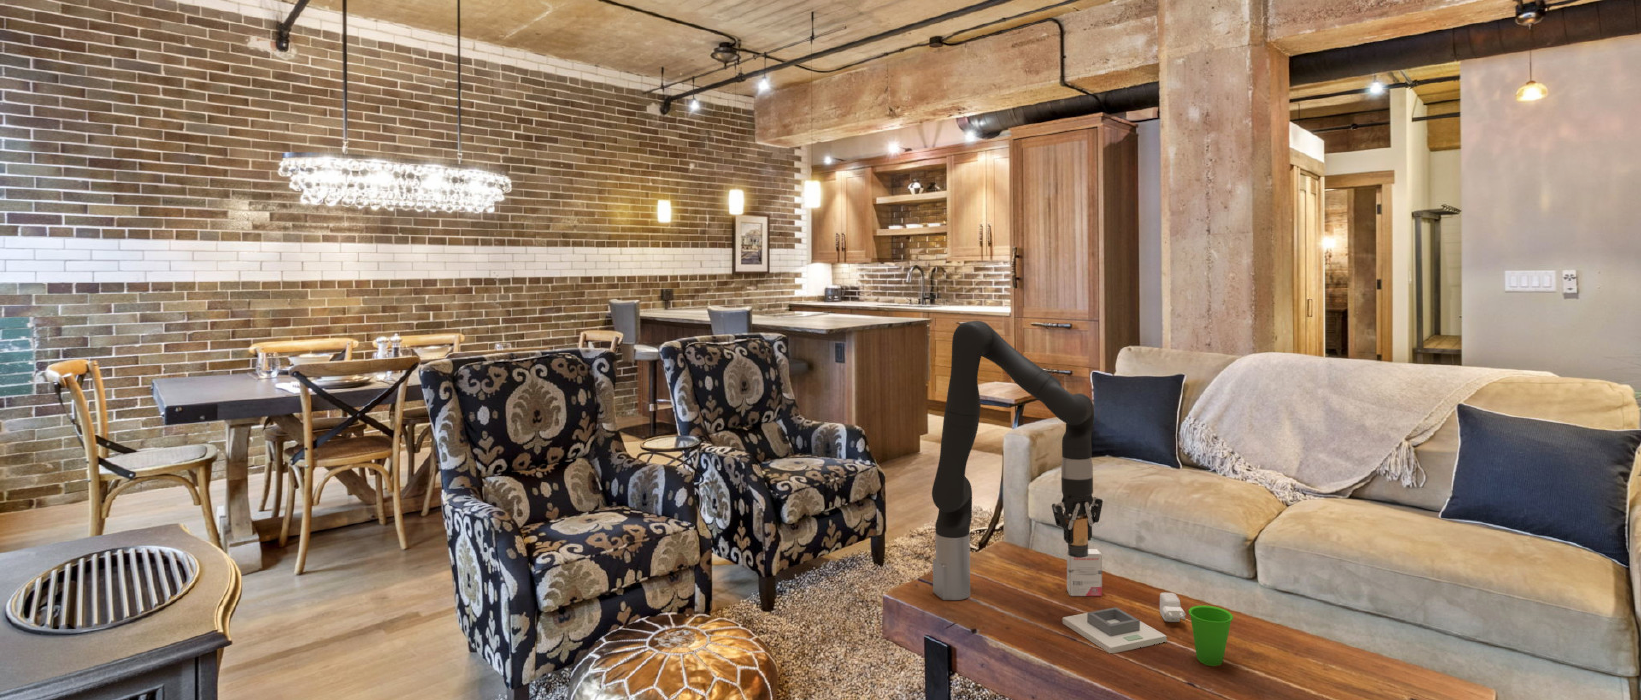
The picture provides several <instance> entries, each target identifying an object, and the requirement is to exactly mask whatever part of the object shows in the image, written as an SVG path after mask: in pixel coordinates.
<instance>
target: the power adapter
mask: <svg viewBox="0 0 1641 700" xmlns="http://www.w3.org/2000/svg"><path fill="white" fill-rule="evenodd" d="M1159 613H1160V616H1161V617H1162V619H1163V621H1165V622H1167V623H1168V622H1169V623H1179V622H1181V619H1182V620H1183V621H1186V616H1187V613H1186V612H1185V611H1184V609H1183V608H1182V607H1181V600H1180V598H1179V596H1178V595H1177V594H1176V593H1174V592H1161V593H1160V594H1159Z"/></svg>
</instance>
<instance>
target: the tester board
mask: <svg viewBox="0 0 1641 700" xmlns="http://www.w3.org/2000/svg"><path fill="white" fill-rule="evenodd" d="M1062 624H1063V625H1064V626H1066V627H1068V628H1069V629H1071V630H1072V631H1074V632H1075V633H1077V634H1078V635H1080V636H1081V637H1083V638H1085V639H1087V641H1089V642H1091V643H1093V644H1094V645H1096V646H1097V647H1099V648H1100V647H1101V649H1102V648H1103V649H1104V650H1103V649H1102V650H1103V651H1105V650H1106V651H1105V652H1107V653H1108V654H1110V653H1113V654H1116V653H1122V652H1126V651H1131V650H1135V649H1136V650H1137V649H1140V647H1141V648H1146V647H1150V646H1155V645H1159V643H1160V644H1164V643H1163V642H1165V643H1167V640H1168V638H1167V637H1168V636H1167V635H1165V634H1164V633H1163V632H1161V631H1159V630H1157V629H1155V628H1154V627H1151V626H1150V625H1148V624H1146V623H1145V622H1143V621H1141V620H1140V619H1139V618H1136V617H1135V616H1133V615H1132V614H1130V613H1127V612H1125V611H1124V610H1122V609H1120V608H1118V607H1116V606H1115V607H1110V608H1105V609H1100V610H1098V609H1097V610H1093V611H1090V612H1088V611H1087V612H1084V613H1079V614H1074V615H1068V616H1064V617H1062ZM1154 644H1155V645H1154Z"/></svg>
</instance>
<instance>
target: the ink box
mask: <svg viewBox="0 0 1641 700" xmlns="http://www.w3.org/2000/svg"><path fill="white" fill-rule="evenodd" d="M1066 590H1067V593H1068V595H1069V596H1070V597H1102V596H1103V554H1102V552H1101V551H1100V550H1099V549H1098V548H1088V556H1087V557H1082V558H1078V557H1072V556H1070V555H1068V548H1066Z"/></svg>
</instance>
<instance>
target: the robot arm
mask: <svg viewBox="0 0 1641 700" xmlns="http://www.w3.org/2000/svg"><path fill="white" fill-rule="evenodd" d="M951 342H952V343H951V363H950V364H951V365H950V366H951V367H950V377H949V383H948V388H947V396H946V402H945V405H944V406H945V408H944V414H943V422H942V423H943V424H942V431H941V438H940V440H941V441H940V452H939V453H940V454H939V459H938V466H937V469H936V473H935V477H934V481H933V484H932V489H931V497H932V501H933V504H934V506H935V507H936V508H937V509H938V514H937V519H936V521H935V526H934V528H935V529H934V533H935V558H933V559H932V590H933V591H932V593H934V594H935V596H937V597H938V598H940V599H941V600H943V601H961V600H965V599H966V600H967V598H969V597H970V596H971V538H970V536H971V535H970V533H971V529H970V528H971V523H972V518H973V516H972V515H973V489H972V485H971V482H970V481H969V479H968V478H967V477H966V469H967V464H968V460H969V456H970V455H971V454H970V453H971V452H972V449H973V447H974V443H975V440H976V437H977V433H978V430H979V429H978V428H979V424H980V423H979V422H980V416H981V396H980V390H979V385H978V383H979V382H978V381H979V380H978V375H979V369H980V365H981V359H982V357H983V359H987V360H989V361H991V362H992V363H993V364H995V365H996V366H999V368H1001V370H1003V371H1004V372H1005V373H1006V374H1007V375H1008V376H1009V377H1010V378H1011V379H1012V380H1013V381H1014V383H1015V384H1017V385H1018V386H1019V388H1021V389H1023V391H1025V392H1026V393H1028V394H1030V396H1032V397H1034V398H1035V399H1036V400H1038V401H1040V402H1041V403H1042V404H1043V405H1044V406H1045V407H1046V408H1047V409H1048V410H1049V411H1050V412H1051V414H1053V415H1055V416H1056V418H1057V419H1059V420H1060V421H1061V422H1063V423H1064V424H1065V432H1064V434H1063V436H1062V440H1061V466H1060V467H1061V470H1060V471H1061V472H1060V473H1061V478H1060V479H1061V482H1060V483H1061V493H1062V499H1061V502H1058V503H1052V504H1051V509H1052V513H1053V517H1054V521H1055V524H1056V527H1060V528H1062V529H1063V540H1064V542H1065V543H1067V545H1068V544H1072V543H1073V529H1072V526H1073V522H1074V521H1075V520H1076V517H1077V516H1078V515H1082V516H1084V517H1087V518H1088V542H1089V541H1091V540H1092V537H1093V525H1094V524H1096V523H1097V524H1098V523H1099V521H1100V518H1101V513H1102V508H1103V502H1104V501H1103V499H1102V498H1099V497H1095V496H1094V497H1093V493H1094V469H1093V468H1094V467H1093V458H1092V448H1093V447H1092V436H1093V435H1092V434H1093V427H1094V419H1095V409H1094V408H1095V407H1094V404H1093V401H1092V399H1091V398H1090V397H1089V396H1088V395H1086V394H1084V393H1074V394H1072V393H1070V392H1069V391H1068V390H1067V389H1065V388H1064V387H1063V386H1062V383H1061V381H1060V380H1059V379H1058V378H1057V377H1055V376H1053V375H1052V374H1050V373H1049V372H1048V371H1046V370H1045V369H1043V368H1042V367H1040V366H1039V365H1037V364H1036V363H1035V362H1033V361H1031V360H1030V359H1029V358H1027V357H1025V355H1023V354H1022V353H1020V352H1019V351H1018V350H1017V349H1015V347H1013V346H1012V345H1010V344H1009V343H1008V342H1007V341H1006V340H1005V339H1004V338H1003V337H1002V336H1001V335H1000V334H999V333H998V332H997V331H996V330H994V328H993V327H991V325H989V324H988V323H987V322H984V321H981V320H972V321H971V320H970V321H966V322H965V321H964V322H962V323H961V324H959V325H958V326H957V327H956V329H955V330H954V332H953V334H952V341H951ZM1069 515H1071V516H1069ZM1068 519H1069V521H1068Z"/></svg>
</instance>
